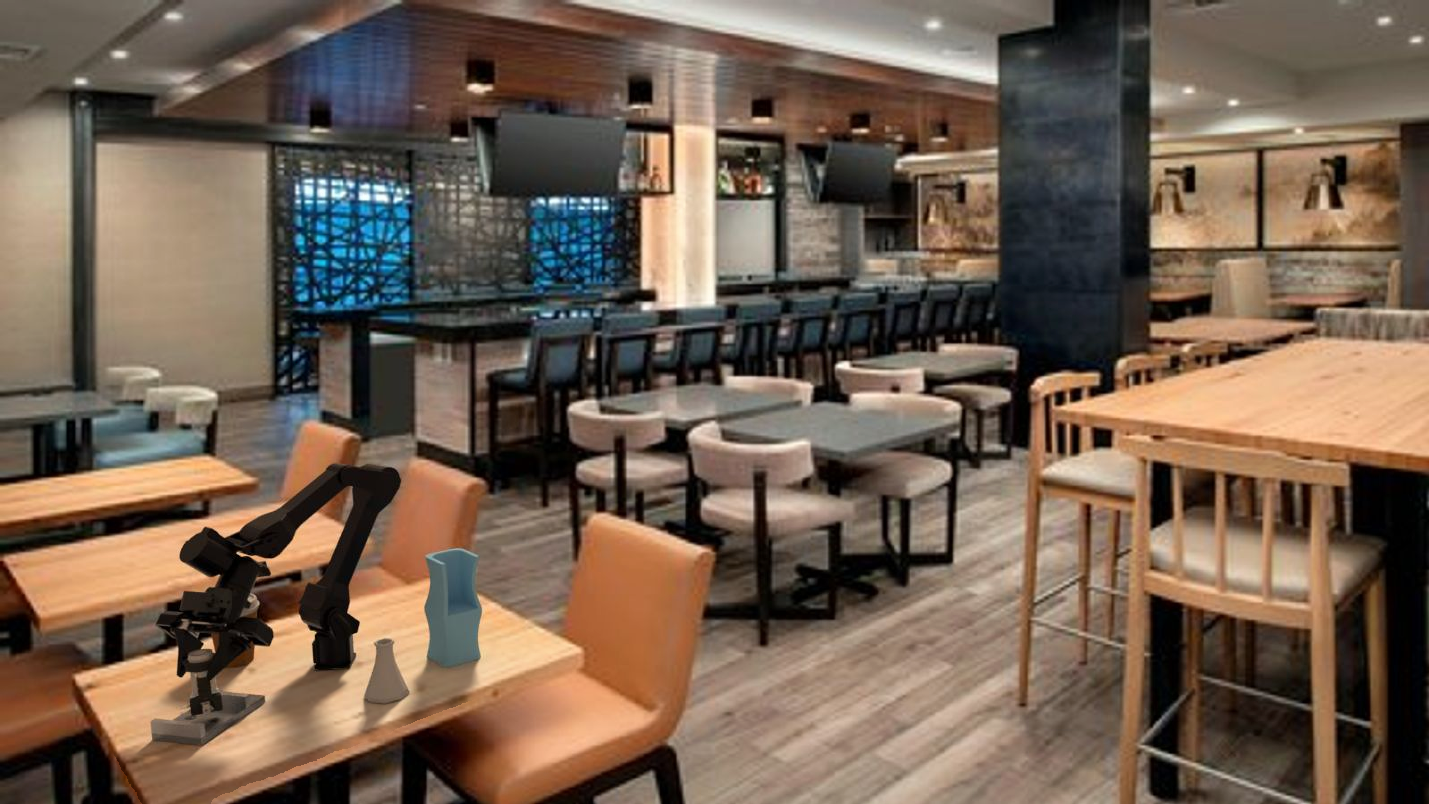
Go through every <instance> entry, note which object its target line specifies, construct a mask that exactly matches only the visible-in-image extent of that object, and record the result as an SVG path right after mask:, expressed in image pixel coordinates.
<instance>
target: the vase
mask: <svg viewBox="0 0 1429 804" xmlns="http://www.w3.org/2000/svg"><path fill="white" fill-rule="evenodd" d="M424 557H425V561H426V565H427V568H428V574H429V588H428V589H429V590H428V594H427V598H426V601H425V603H424V606H423V607H424V608H423V609H424V615H425V617H426V621H427V625H428V630H429V632H428V633H429V640H428V641H429V643H428V648H427V649H428V650H427V652H426V653H427V654H426V657H427V658H429V659H431V660H432V661H434V662H435V663H437V664H438V665H440V666H441V667H445V668H452V667H456V666H459V665H462V664H466V663H469V662H473V661H475V660H479V659H481V657H482V655H481V651H480V645H479V629H480V623H481V619H482V614H483V607H482V604H481V602H480V600H479V597H478V594H477V589H476V573H477V569H478V568H477V567H478V564H479V560H480V555H477V554H475V553H474V552H472V551H468V550H466V549H464V548H460V547H456V548H451V549H445V550H441V551H437V552H431V553H428V554H426V555H424Z"/></svg>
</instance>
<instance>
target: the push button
mask: <svg viewBox="0 0 1429 804" xmlns="http://www.w3.org/2000/svg"><path fill="white" fill-rule="evenodd" d="M214 655H215V652H213V649H211V648H201V649H199V650H195V651H193V652H190V653H189V654H188V658H186V659H184V660H183V665H184V666H185V671H187V672H186V673H189V675H190V682H191V684H190V685H191V690H192V691H191V692H192V693H190V697H189V704H187V705H183V706H179V707H178V710H182V709H184V710H185V709H188V710H185V711H181V712H179V715H178V716H180V715H181V714H186V713H191V715H192V716H195V715H200V714H206V713H210V712H214V711H221V710H223V706H222V697H221V692H220V690H219V689H220V688H219V687H217V681H216V676H215V677H214V678H213V679H212V680H208V679H206V675H207V672H208V669H209V666H210V664H211V662H212V659H213V657H214ZM212 691H213V692H212ZM189 708H190V709H191V710H189Z"/></svg>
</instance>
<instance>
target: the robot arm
mask: <svg viewBox="0 0 1429 804" xmlns="http://www.w3.org/2000/svg"><path fill="white" fill-rule="evenodd" d="M401 484H402V478H401V476H400V473H399V471H398V470H397V469H396V468H395V467H391V466H388V465H381V464H376V463H373V462H372V463H365V464H364V465H361V466H354V465H350V464H344V463H339V462H333V463H331V464H329V465H327V466H326V468H325V471H323V472H322V473H321V474H319V475H318V476H317V477H316V478H315V479H313V480H312V481H311V482H310V483H308V484H307V485H306V486H305V487H304V488H302V489H301V490H299V491H298V492H297V493H296V494H295V495H293V496H292V497H291V498H290V499H289V500H288V501H286V502H285V503H284V504H282V506H280V507H278V508H277V509H275V510H273V511H269V512H267V513H264V514H261V515H259V516H257V517H255V518H254V519H252V520H250V521H249V522H248V523H246V524H244V525H243V526H242V527H241V529H240V530H239V531H237V532H234V533H231V534H229V535H227V536H225V537H224V536H222V535H221V534H220V533H219V532H218V531H217V530H216V529H214V528H213V527H209V526H204V527H203V528H202V530H201V531H200V532H197V533H196V534H194V535H193V536H191V537H190V538H189V539H188V540H186V541H185V542H184V544H183V545H182V547H181V549H180V552H179V560H180V562H182V563H184V564H185V565H187V566H189V567H190V568H192V569H194V570H195V571H197V572H198V573H200V574H202V575H204V576H206V577H208V578H214V577H217V576H218V579H217V580H216V583H215V584H214V586H208V587H207V588H206V590H205V591H189V590H183V594H182V597H181V602H180V607H179V611H170V610H169V611H168V610H166V611H163V612H161V613H160V614H159V616H158V618H157V619H156V622H155V623H154V626H156V628H158V629H160V630H161V631H162V632H163V633H165V634H167V636H169V637H171V638H172V639H176V640H177V650H178V652H177V665H176V676H177V677H178V678H180V679H181V678H183V677H184V676H185V675H186V673H188V672H187V671H185V666H184V665H183V660H184V659H186V658H188V654H189V653H190V652H193V651H195V650H199V649H203V646H204V645H205V643H204V642H203V641H201V639H200V638H199V635H200V634H210V635H211V634H219V645H218V648H217V650H216V652H215V651H214V653H215V655H214V657H213V659H212V662H211V664H210V666H209V669H208V672H207V675H206V679H208V680H210V681H212V679H213V678H214V677H215V678H216V677H217V676H218V675H219V674H220V673H221V672H222V671H223V670H224V669H225V668H227V667H226V666H227V665H228V664H229V663H231V662H232V661H233V660H234V659H235V658H237V657H238V656H239V655H240V654H242V653H243V652H244V651H246V650H251V648H252V646H251V645H250V643H251V641H252V642H253V644H254V645H255V647H268V648H269V647H270V646H271V644H272V642H273V639H274V637H275V635H274V630H273V628H272V627H270V626H269V625H268V624H267V623H266V622H265V621H264V620H262V619H261V618H259V617H257V618H250V617H240V616H241V614H242V612H243V609H244V608H245V609H249V608H250V605H251V603H250V602H249V601H248V598H249V596H250V593H251V594H252V592H253V591H252V590H253V589H254V586H255V583H256V582H257V579H258V578H265V577H270V576H271V575H272V572H271V570H270V567H269V566H268V565H267V561H266V560H264V561H263V560H261V561H257V560H256V559H254V558H252V557H253V556H254V557H259V558H262V559H271V560H272V559H275V558H277V557H278V556H280V555H281V554H282V552H284V551H285V549H287V547H288V546H289V545H290V544H291V543H292V542H293V540H294V537H295V535H296V533H297V530H298V529H299V528H300V527H301V526H302V525H303V524H304V523H306V522H307V521H308V520H309V519H310V518H312V516H314V515H315V514H317V512H318V511H320V510H321V509H322V508H323V507H324V506H326V505H327V504H328V503H329V502H330V501H332V500H333V499H334V498H335V497H337V495H339V494H340V493H341V492H342V491H343V490H344V489H347V487H352V488H351V490H352V491H351V493H352V503H353V504H352V508H351V510H350V512H349V514H348V516H347V519H346V521H345V524H344V526H343V529H342V531H341V533H340V536H339V538H338V541H337V542H336V545H335V547H334V550H333V553H332V555H331V558H330V559H329V562H328V564H327V567H326V569H325V571H324V574H323V575H322V577H321V578H320V579H319V580H318V581H317V582H315V583H313V582H308V583H307V584H306V586H305V588H304V592H303V595H302V596H301V598H300V600H299V601H298V602H297V603H298V604H299V609H298V615H299V616H300V619H301V622H303V623H304V624H306V625H307V628H308V630H309V631H311V632H315V634H314V639H313V641H312V643H311V649H312V662H313V664H314V666H313V670H314V671H321V670H323V671H324V670H325V671H326V670H339V669H341V670H342V669H349V668H351V667H352V664H353V663H354V661H355V659H356V657H357V652H355V649H354V635H355V634H358V632H359V627H360V623H361V621H360V620H358V619H357V618H356V617H354V616H352V614H350V613H348V612H349V608H350V604H351V597H350V585H351V581H352V579H353V577H354V574H355V571H356V569H357V567H358V564H359V561H360V560H361V558H362V554H363V552H364V550H365V547H366V544H367V543H368V540H369V538H370V535H371V533H372V530H373V527H374V525H375V523H376V521H377V518H378V516H379V514H380V513H381V512H382V511H383V510H384V509H385V508H387V507H388V506H389V505H390V504H391V503H392V502H393V500H394V499H395V497H396V495H397V493H398V491H399V490H400V488H401ZM238 553H239V554H238ZM240 554H243V556H241V555H240ZM181 611H182V612H181ZM184 611H185V612H184ZM186 611H192V615H193V616H194V617H196V618H199V620H198V619H197V620H196V619H195V620H194V619H193V618H192V617H191V616H189V615H188V614H187V613H186Z"/></svg>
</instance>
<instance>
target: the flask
mask: <svg viewBox="0 0 1429 804" xmlns="http://www.w3.org/2000/svg"><path fill="white" fill-rule="evenodd" d="M394 644H395V640H394V639H393V638H389V637H383V638H379V639H377V640H375V641H374V642H373V645H374V646H375V652H376V653H375V658H374V665H373V669H372V671H371V674H370V676H369V677H370V678H369V681H368V683H367V685H366V689H365V692H364V694H363V697H364V698H365V699H366V700H367V701H368V702H369V703H378V704H389V703H392V702H397V701H398V700H402V699H403V698H404V697H406V696H407V695H408V694H409V693H410V690H409V688H408V685H407V683H406V682H405V680H404V677H403V675H402V673H401V671H400V669H399V666H398V663H397V662H396V658H395V654H394Z"/></svg>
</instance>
